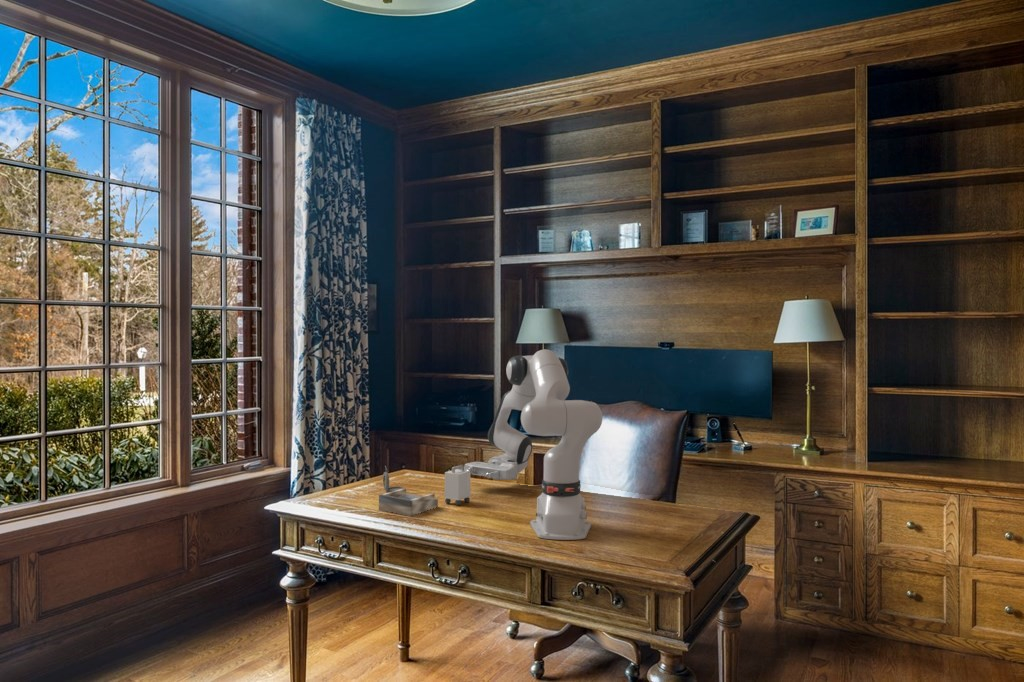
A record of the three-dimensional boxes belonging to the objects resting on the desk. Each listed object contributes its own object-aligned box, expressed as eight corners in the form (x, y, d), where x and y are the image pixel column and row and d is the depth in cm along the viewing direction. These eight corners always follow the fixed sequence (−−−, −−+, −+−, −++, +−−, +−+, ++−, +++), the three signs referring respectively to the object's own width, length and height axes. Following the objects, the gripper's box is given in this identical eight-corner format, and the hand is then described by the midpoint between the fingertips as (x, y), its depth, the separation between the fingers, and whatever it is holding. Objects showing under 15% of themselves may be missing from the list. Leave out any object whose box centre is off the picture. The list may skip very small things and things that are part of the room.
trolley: (456, 499, 244) (456, 463, 244) (470, 502, 241) (471, 465, 241) (443, 503, 238) (444, 466, 238) (458, 506, 235) (458, 468, 235)
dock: (406, 501, 241) (406, 487, 241) (437, 507, 233) (437, 492, 233) (378, 510, 229) (378, 495, 229) (410, 516, 222) (410, 501, 222)
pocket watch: (407, 491, 257) (408, 464, 257) (392, 495, 250) (392, 468, 250) (392, 488, 262) (392, 461, 261) (376, 492, 255) (376, 465, 254)
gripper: (476, 456, 267) (455, 462, 256) (520, 462, 256) (500, 469, 245) (476, 472, 267) (454, 478, 256) (520, 479, 256) (500, 486, 245)
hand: (477, 474), depth 250 cm, fingers open, 8 cm apart
